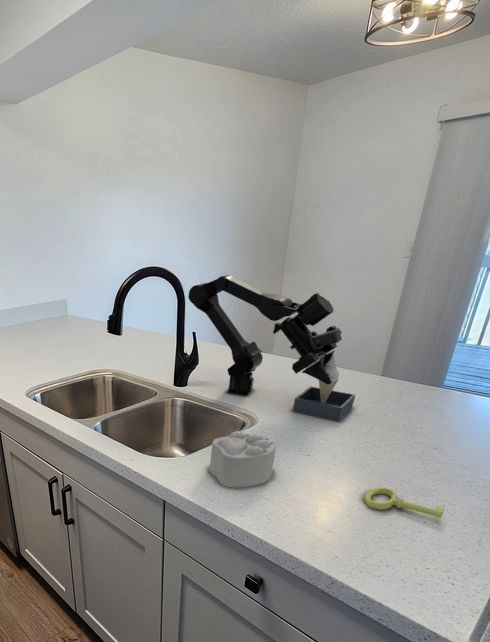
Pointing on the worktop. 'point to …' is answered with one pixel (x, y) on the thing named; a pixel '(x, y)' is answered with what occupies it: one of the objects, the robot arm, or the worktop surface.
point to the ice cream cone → (333, 375)
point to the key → (398, 503)
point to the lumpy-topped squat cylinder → (242, 459)
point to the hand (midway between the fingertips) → (333, 381)
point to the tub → (330, 410)
